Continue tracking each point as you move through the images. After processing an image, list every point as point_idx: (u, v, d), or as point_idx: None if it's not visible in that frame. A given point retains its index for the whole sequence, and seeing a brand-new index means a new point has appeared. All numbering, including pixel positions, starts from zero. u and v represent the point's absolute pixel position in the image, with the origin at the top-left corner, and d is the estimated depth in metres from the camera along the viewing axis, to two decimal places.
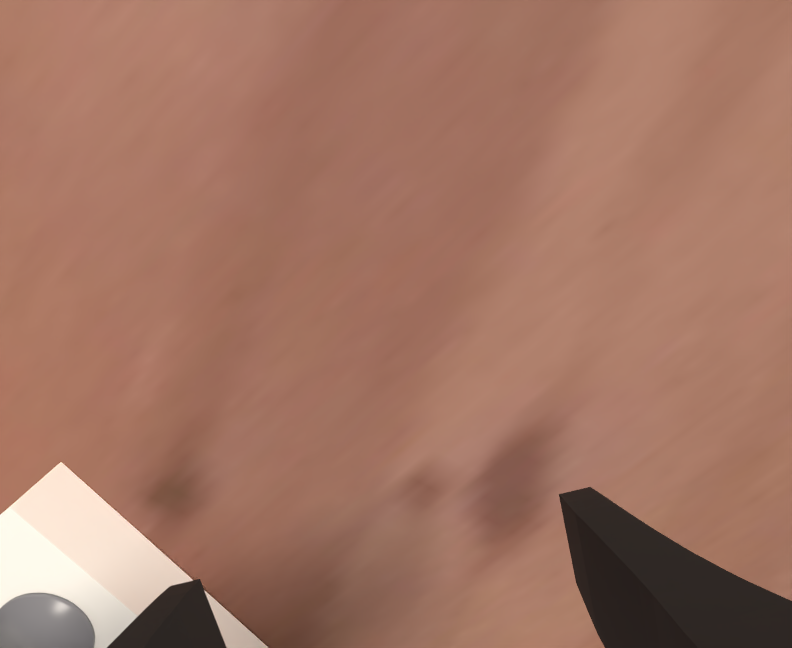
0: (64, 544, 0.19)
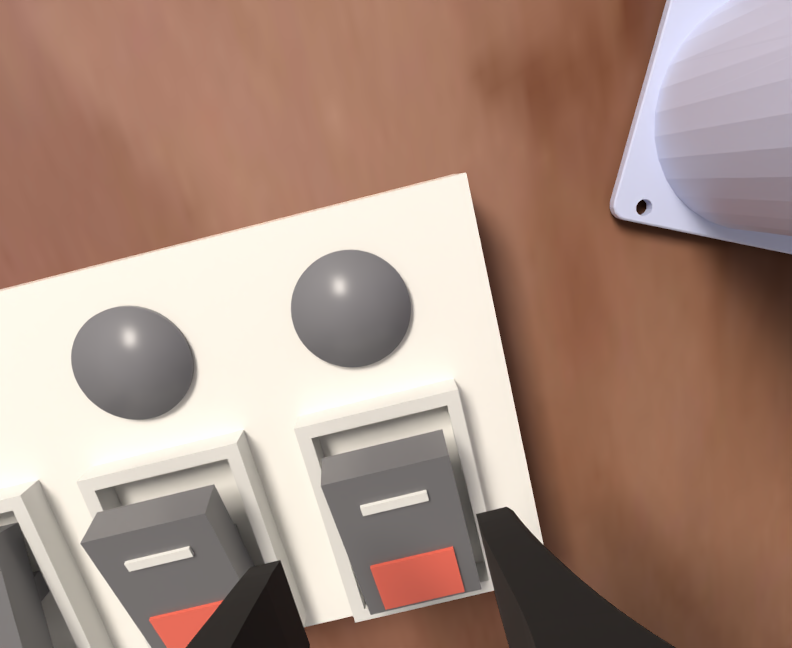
0: None
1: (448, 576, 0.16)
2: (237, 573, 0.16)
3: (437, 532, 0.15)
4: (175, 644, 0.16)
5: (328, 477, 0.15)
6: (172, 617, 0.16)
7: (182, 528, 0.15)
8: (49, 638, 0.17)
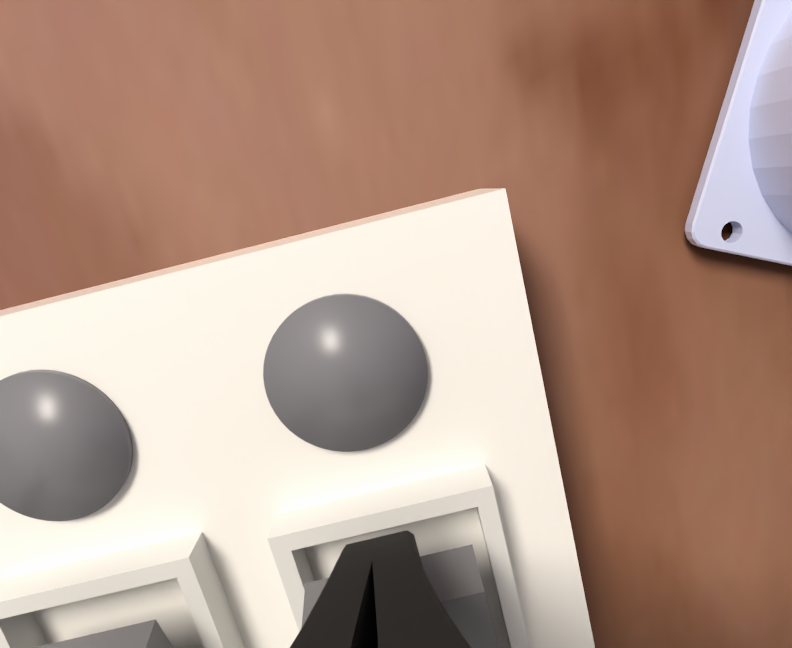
0: None
1: None
2: None
3: None
4: None
5: None
6: None
7: None
8: None
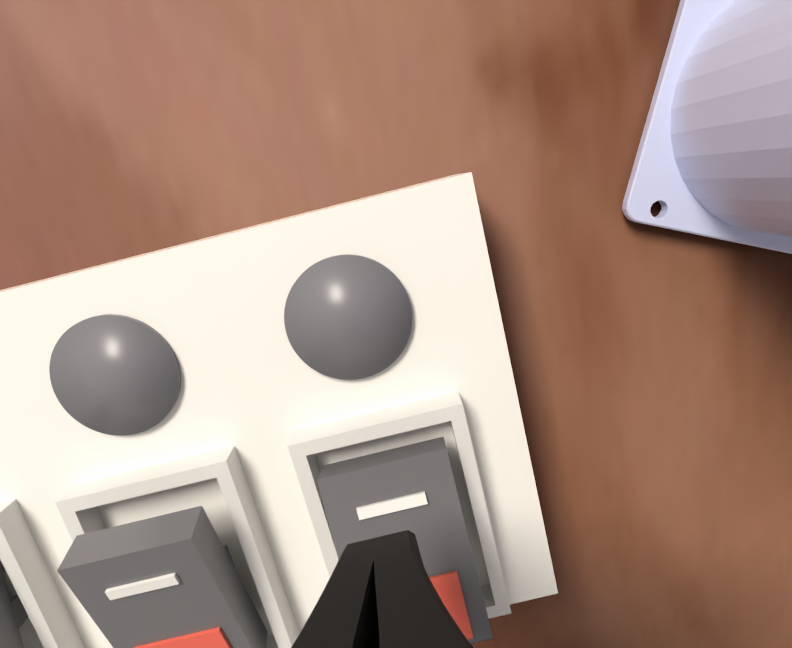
0: None
1: (453, 614, 0.15)
2: (226, 601, 0.15)
3: (438, 550, 0.14)
4: None
5: (326, 474, 0.15)
6: (157, 647, 0.15)
7: (167, 553, 0.14)
8: None
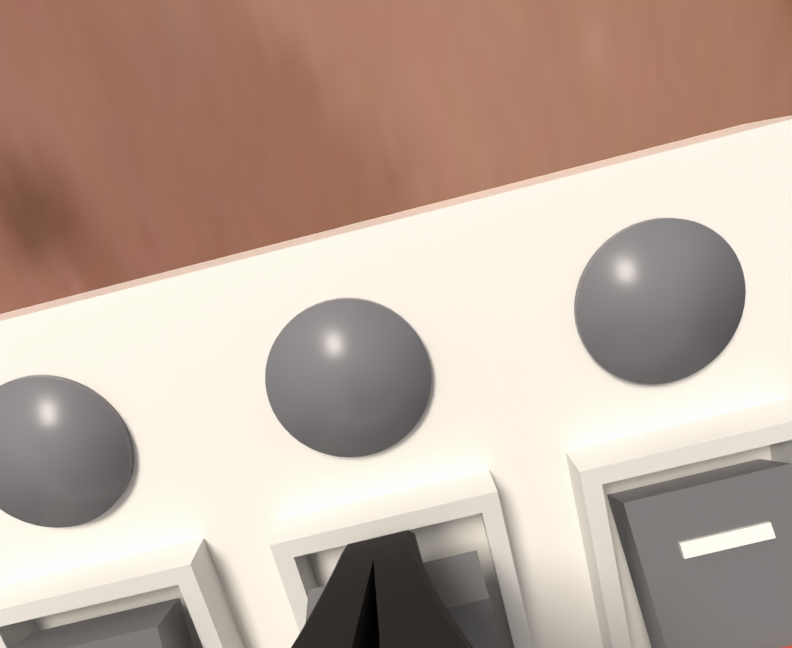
0: None
1: None
2: None
3: None
4: None
5: (629, 499, 0.11)
6: None
7: None
8: None
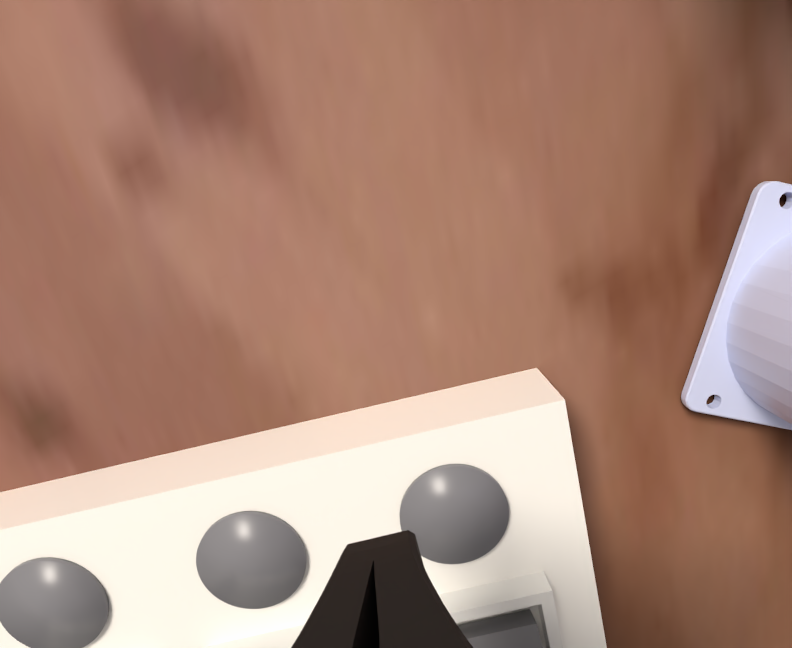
0: None
1: None
2: None
3: None
4: None
5: None
6: None
7: None
8: None
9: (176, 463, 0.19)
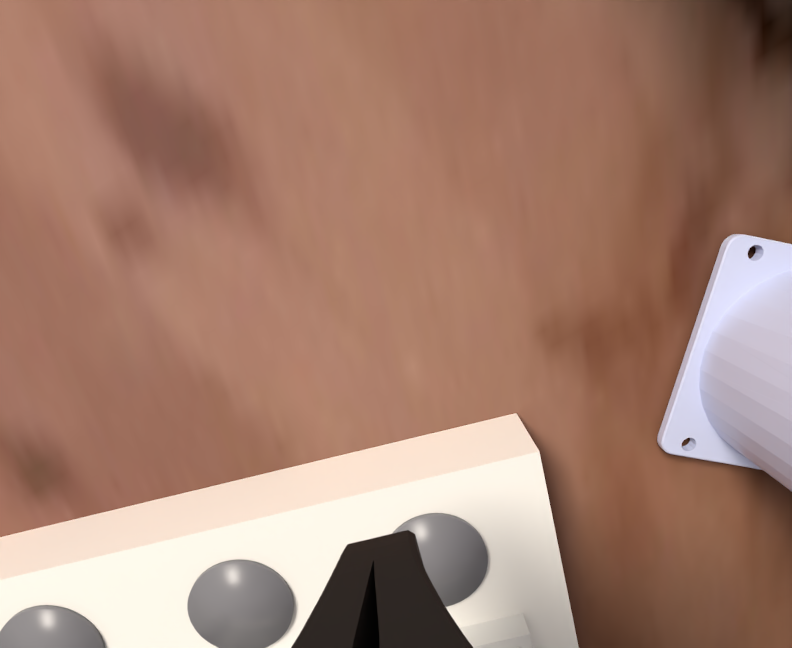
0: None
1: None
2: None
3: None
4: None
5: None
6: None
7: None
8: None
9: (168, 510, 0.20)
